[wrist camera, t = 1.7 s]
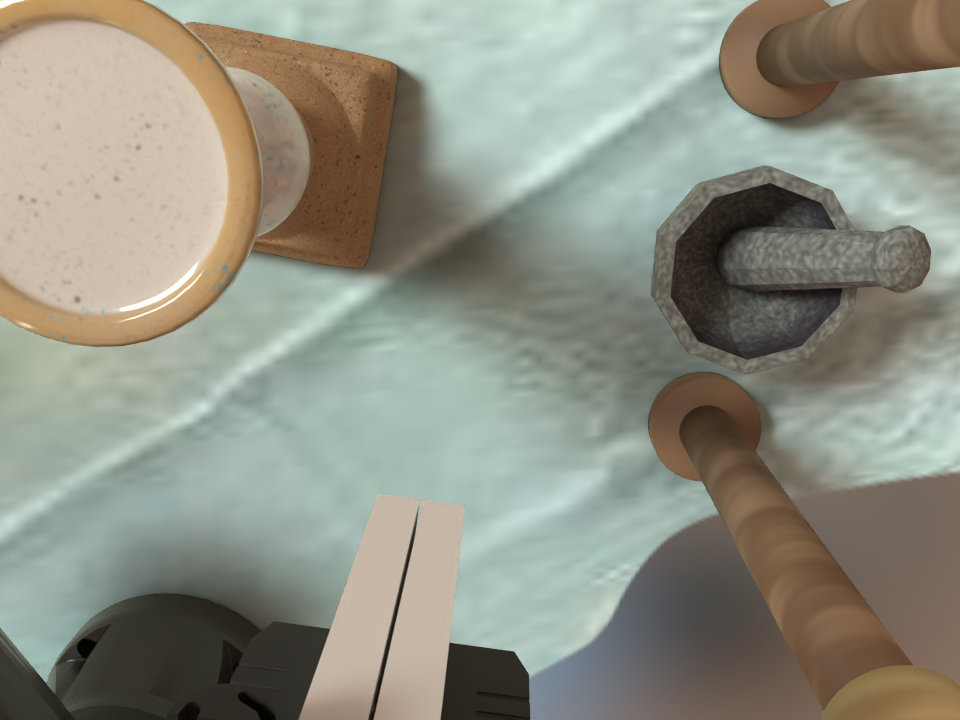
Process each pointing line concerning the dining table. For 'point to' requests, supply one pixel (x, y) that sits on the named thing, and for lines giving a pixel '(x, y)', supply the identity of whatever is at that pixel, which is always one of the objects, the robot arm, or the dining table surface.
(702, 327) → the mortar and pestle
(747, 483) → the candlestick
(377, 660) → the robot arm
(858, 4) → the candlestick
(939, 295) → the dining table surface
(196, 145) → the candle holder
